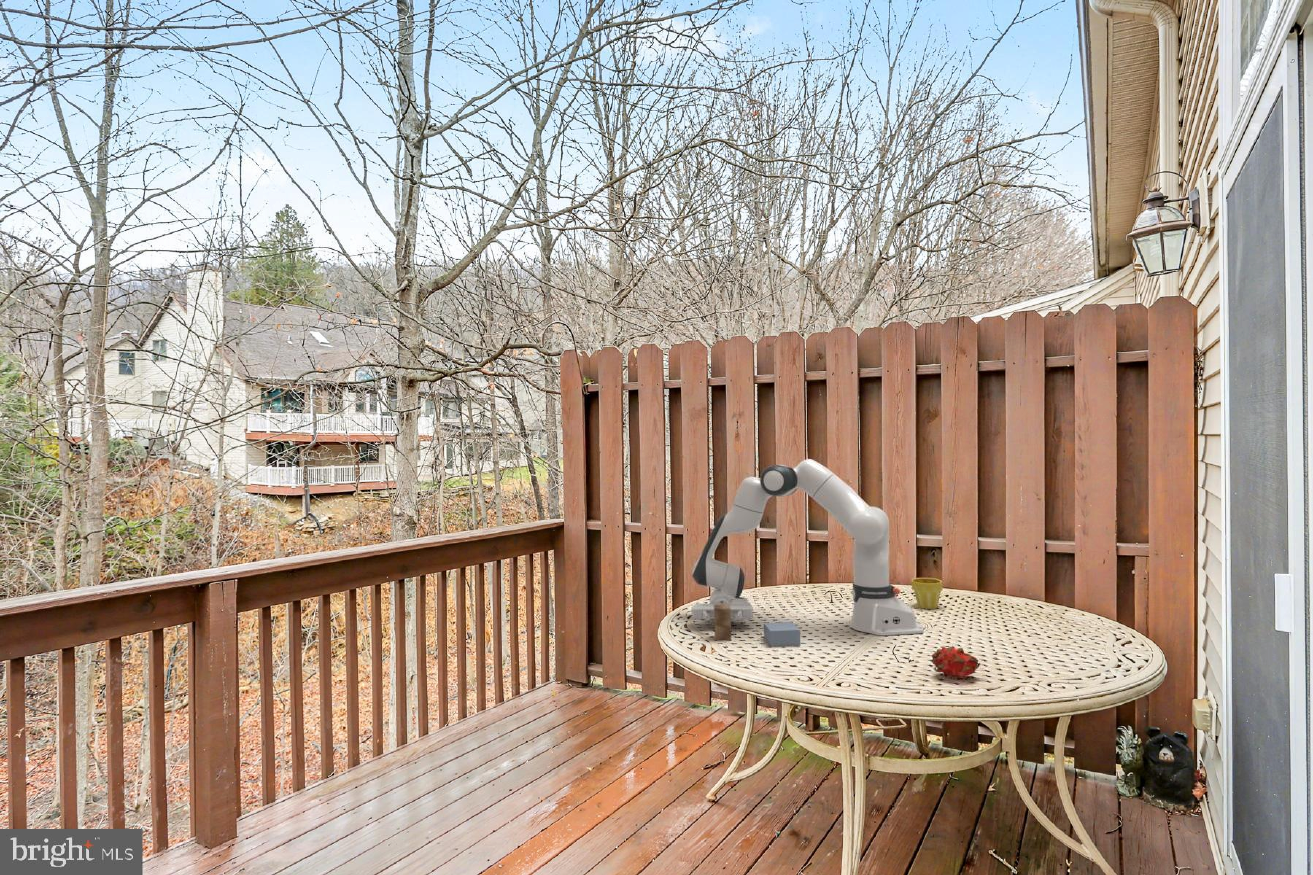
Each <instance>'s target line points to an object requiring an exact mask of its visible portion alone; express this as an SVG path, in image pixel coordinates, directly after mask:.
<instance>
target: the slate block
mask: <svg viewBox="0 0 1313 875" xmlns="http://www.w3.org/2000/svg"><path fill="white" fill-rule="evenodd" d="M763 639H764V640H765V641H766V643H767V642H768V643H767V644H768V646H770V647H771V648H775V647H776V648H777V647H800V646H801V629H800V628H799V627H798V626H797V625H796V624H794V622H793V621H782V622H780V621H777V622H763Z"/></svg>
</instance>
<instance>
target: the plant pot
mask: <svg viewBox="0 0 1313 875" xmlns="http://www.w3.org/2000/svg"><path fill="white" fill-rule="evenodd" d="M911 589H912V590H913V592H914V596H915V599H916V604H917V607H918V608H919V607H921V608H920V609H923V608H925V609H924V610H937V609H938V607H939V602H940V597H941V592H942V591H943V581H942V580H941V579H938V578H933V577H915V578H912V579H911Z"/></svg>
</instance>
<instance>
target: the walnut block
mask: <svg viewBox="0 0 1313 875" xmlns="http://www.w3.org/2000/svg"><path fill="white" fill-rule="evenodd" d="M713 620H714V641H715V640H729V641H728V642H731V641H732V631H731V630H732V627H731V626H732V625H731V624H732V622H731V620H732V619H731V616H730V605H714V619H713ZM730 640H731V641H730Z"/></svg>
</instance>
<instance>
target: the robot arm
mask: <svg viewBox="0 0 1313 875" xmlns="http://www.w3.org/2000/svg"><path fill="white" fill-rule="evenodd" d="M797 490H801V491H803V492H805V493H806V494H807V495H808V496H809V497H810V498H812V499H813V501H815V502H816V503H817V504H818V505H820V506H821V507H822V508H823V509H824V510H826V512H828V513H829V514H830V515H831V516H832V517H833V518H834V519H835V521H836V522H838V523H839V525H840V526H841V527H842V528H843V529H844V530H845V531H846V532H847V533H848V534H849V535H850V536H851V537H852V538H853V539H854V547H853V548H854V549H853V558H852V564H853V583H852V588H851V590H852V591H851V592H852V593H851V594H852V600H853V606H852V607H853V610H852V615H851V621H850V624H849V627H850V628H852V629H853V630H856V631H859V632H863V633H868V634H872V635H875V636H896V635H911V634H915V635H916V634H923V633H924V632H925V628H924V626H923V624H921V623H920V622H918V621H917V619H916V615H915V612H914V610H913V609H912V608H911V607H910V606H909V605H908V604H907V603H905V602H904V601H903V600H901V599H900V598H899V597H897V596H898V595H900V593H901V590H900V588H898V587H896V586H893V585H892V584H891V583H890V569H889V568H890V563H889V561H890V560H889V557H890V520H889V517H888V514H886V513H887V512H885V511H884V510H882V509H881V508H879V507H877V506H870V505H868V503H867V502H865V500H864V499H862V497H860V496H859V495H858V493H857V492H855V490H854V489H853V488H852V486H850V485H848V484H847V483H846V482H845V481H844V480H842V479H841V478H840V477H838V476H837V475H836V474H835V473H834V472H833V471H831V470H830V469H829V468H827V467H825V466H824V465H822V464H821V463H819V462H818V461H816V460H814V459H811V458H807V459H804V460H802V461H801V462H799V463H798V464H797V465H796V466H795V467H791V466H787V465H785V464H772V465H770V466H767V467H765V469H763V471H762V473H761V475H760V477H755V476H748V477H746V478H744V479H743V480H742V481H741V483H740V485H739V488H738V489H737V492H736V495H735V496H734V500H733V504H732V506H731V509H730V510H729V511H728V512H727V513H726V514H725V515H721V516H720V517H719V518H718V520H717V522H716V523H715V525H714V527H713V529H712V531H711V533H710V535H709V537H708V540H707V541H706V542H705V545H704V548H703V549H702V552H701V554H700V556H699V557H698V558H697V560H696V562H695V563H694V565H693V568H692V573H691V574H692V575H691V576H692V579H693V580H694V582H695V583H696V584H697V585H698V586H704V587H709V588H714V589H713V591H712V592H711V594H710V595H709V603H696V604H694V605H692V607H691V618H692V619H693V620H705V621H710V620H714V605H730V616H731V620H735V621H740V620H752V619H754V609H753V606H752V603H751V602H749V601H748V598H747V597H743V596H742V593H743V589H744V586H745V581H746V580H745V578H746V577H745V576H746V575H745V572H744V570H743V569H742V567H740V566H738V565H735V564H731V563H726V562H723V561H720V560H717V559H715V558H713V556H714V554H715V552H716V550H717V548H718V546H719V544H720V541H721V540H722V539H723V538H724V537H725V536H728V535H735V534H745V533H749V532H753V531H754V530H756V529H757V528H758V527H759V526H760V524H761V522H762V519H763V516H764V512H765V509H766V506H767V502H768V500H769V499H770V498H772V497H780V498H781V497H782V498H784V497H786V496H790V495H792V494H794V493H796V491H797ZM896 595H897V596H896Z"/></svg>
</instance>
